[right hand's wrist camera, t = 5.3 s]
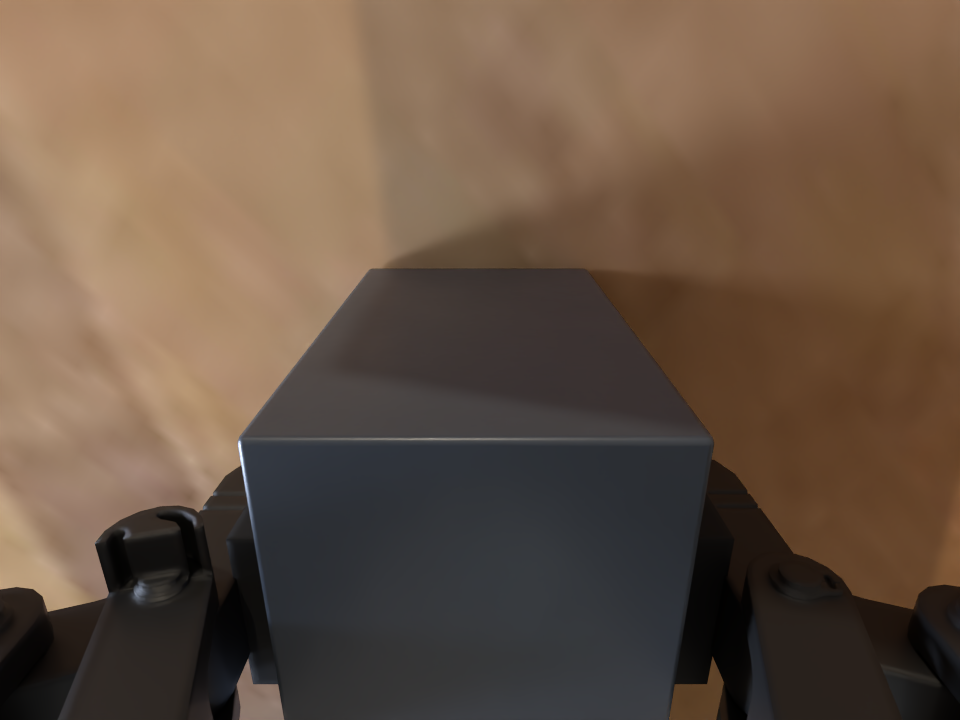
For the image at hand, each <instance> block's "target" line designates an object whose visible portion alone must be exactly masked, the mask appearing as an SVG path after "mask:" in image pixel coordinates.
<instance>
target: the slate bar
mask: <svg viewBox="0 0 960 720" xmlns="http://www.w3.org/2000/svg"><path fill="white" fill-rule="evenodd" d="M713 447H714V441H713V437H712V436H711V435H710V433H709V432H708V431H707V429H706V428H705V427H704V425H703V424H702V423H701V421H700V420H699V419H698V417H697V416H696V415H695V413H694V412H693V411H692V409H691V408H690V407H689V405H688V404H687V403H686V401H685V400H684V399H683V397H682V396H681V395H680V393H679V392H678V391H677V389H676V388H675V387H674V385H673V384H672V383H671V381H670V380H669V379H668V377H667V376H666V375H665V373H664V372H663V371H662V369H661V368H660V367H659V365H658V364H657V363H656V361H655V360H654V359H653V357H652V356H651V355H650V353H649V352H648V351H647V349H646V348H645V347H644V345H643V344H642V343H641V341H640V340H639V339H638V337H637V336H636V335H635V333H634V332H633V331H632V329H631V328H630V327H629V325H628V324H627V323H626V321H625V320H624V319H623V317H622V316H621V315H620V313H619V312H618V311H617V309H616V308H615V307H614V305H613V304H612V303H611V301H610V300H609V299H608V297H607V296H606V295H605V293H604V292H603V291H602V289H601V288H600V287H599V285H598V284H597V283H596V281H595V280H594V279H593V277H592V276H591V275H590V273H589V272H588V271H587V270H586V269H370V270H369V271H368V272H367V273H366V275H365V276H364V277H363V279H362V280H361V281H360V282H359V284H358V285H357V286H356V288H355V289H354V290H353V292H352V293H351V294H350V295H349V297H348V298H347V299H346V301H345V302H344V303H343V304H342V306H341V307H340V308H339V310H338V311H337V312H336V313H335V315H334V316H333V317H332V319H331V320H330V321H329V322H328V324H327V325H326V326H325V328H324V329H323V330H322V331H321V333H320V334H319V335H318V337H317V338H316V339H315V340H314V342H313V343H312V344H311V346H310V347H309V348H308V349H307V351H306V352H305V353H304V355H303V356H302V357H301V358H300V360H299V361H298V362H297V364H296V365H295V366H294V367H293V369H292V370H291V371H290V373H289V374H288V375H287V376H286V378H285V379H284V380H283V382H282V383H281V384H280V385H279V387H278V388H277V389H276V391H275V392H274V393H273V394H272V396H271V397H270V398H269V400H268V401H267V402H266V403H265V405H264V406H263V407H262V409H261V410H260V411H259V412H258V414H257V415H256V416H255V418H254V419H253V420H252V421H251V423H250V424H249V425H248V427H247V428H246V429H245V430H244V432H243V433H242V434H241V436H240V437H239V440H238V448H239V454H240V460H241V466H242V472H243V478H244V484H245V490H246V496H247V502H248V508H249V513H250V519H251V525H252V531H253V537H254V543H255V549H256V555H257V561H258V567H259V573H260V579H261V584H262V590H263V596H264V602H265V608H266V614H267V620H268V626H269V632H270V638H271V644H272V649H273V655H274V661H275V667H276V673H277V679H278V685H279V691H280V697H281V703H282V709H283V715H284V720H669V715H670V709H671V703H672V697H673V691H674V685H675V679H676V673H677V667H678V661H679V654H680V648H681V642H682V636H683V630H684V624H685V618H686V612H687V606H688V600H689V593H690V587H691V581H692V575H693V569H694V563H695V557H696V551H697V545H698V539H699V532H700V526H701V520H702V514H703V508H704V502H705V496H706V490H707V484H708V477H709V471H710V465H711V459H712V453H713Z"/></svg>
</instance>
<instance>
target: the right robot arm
mask: <svg viewBox="0 0 960 720" xmlns="http://www.w3.org/2000/svg"><path fill="white" fill-rule="evenodd" d="M95 546H96V549H97V553H98V556H99V560H100V563H101V567H102V570H103V574H104V577H105V580H106V584H107V587H108V591H109V594H108V597H107V598H105V599H102V600H98V601H95V602H91V603H86V604H82V605H77V606H73V607H68V608H64V609H59V610H55V611H50V612H47V609H46V606H45V603H44V600H43V597H42V596H41V595H40V594H38V593H37V592H36V591H35V590H33V589H27V588H19V587H15V588H8V589H1V590H0V720H239V717H240V701H239V695H238V690H237V682H238V680H239V678H240V675H241V673H242V671H243V669H244V666H245V664H246V662H247V659H249V664H250V669H251V675H252V680H253V684H278V679H277V673H276V667H275V661H274V655H273V649H272V644H271V638H270V632H269V626H268V620H267V614H266V608H265V602H264V596H263V590H262V584H261V579H260V573H259V567H258V561H257V555H256V549H255V543H254V537H253V531H252V525H251V519H250V513H249V508H248V502H247V496H246V490H245V484H244V478H243V472H242V466H240V467H238V468H237V469H235V470H234V471H232V472H231V473H229V474H228V475H226V476H225V478H224V479H223V480H222V482H221V483H220V484H219V486H218V487H217V488H216V490H215V491H214V493H213V496H211V497H210V498H209V499H208V501H207V502H206V503H205V505H204V506H203V510H200V512H199V513H198V512H197V511H195V510H194V509H191V508H187V507H183V506H162V507H156V508H152V509H148V510H144V511H140V512H138V513H136V514H133V515H131V516H129V517H126V518H124V519H122V520H120V521H118V522H117V523H116V524H114V525H113V526H111V527H110V528H108V529H107V530H106V531H104V533H103V534H102V535H101V536H100V538H99V539H98V540H97V541H96V543H95ZM712 656H713V658H714V660H715V663H716V665H717V667H718V669H719V672H720V674H721V676H722V679H723V681H724V685H723V690H722V695H721V700H720V705H719V709H718V714H717V719H716V720H960V587H956V586H950V585H939V586H931V587H927V588H926V589H925V590H923V591H922V592H921V593H920V594H919V595H918V598H917V601H916V604H915V607H914V610H913V609H908V608H903V607H899V606H894V605H890V604H885V603H881V602H876V601H872V600H867V599H864V598H860V597H857V596H853V595H852V593H851V591H850V590H849V588H848V587H847V586H846V584H845V583H844V581H843V580H842V579H841V578H840V577H839V576H838V575H836V574H835V573H834V572H833V571H831V570H830V569H829V568H828V567H826V566H824V565H822V564H820V563H818V562H816V561H814V560H812V559H810V558H807V557H804V556H800V555H797V554H794V553H793V552H792V551H791V549H790V548H789V547H788V545H787V544H786V543H785V541H784V540H783V538H782V537H781V536H780V534H779V533H778V532H777V530H776V529H775V528H774V526H773V525H772V524H771V522H770V521H769V519H768V518H767V517H766V515H765V514H764V513H763V511H762V510H761V509H760V508H758V505H757V503H756V502H755V500H754V499H753V498H752V496H751V495H750V494H748V493H747V490H746V488H745V487H744V486H743V484H742V483H741V481H740V480H739V479H738V477H737V476H736V475H735V474H734V473H733V472H731V471H730V470H728V469H727V468H725V467H724V466H722V465H721V464H719V463H718V462H716V461H715V460H711V465H710V471H709V477H708V484H707V490H706V496H705V502H704V508H703V514H702V520H701V526H700V532H699V539H698V545H697V551H696V557H695V563H694V569H693V575H692V581H691V587H690V593H689V600H688V606H687V612H686V618H685V624H684V630H683V636H682V642H681V648H680V654H679V661H678V667H677V673H676V679H675V684H707V682H708V676H709V671H710V666H711V661H712Z"/></svg>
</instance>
